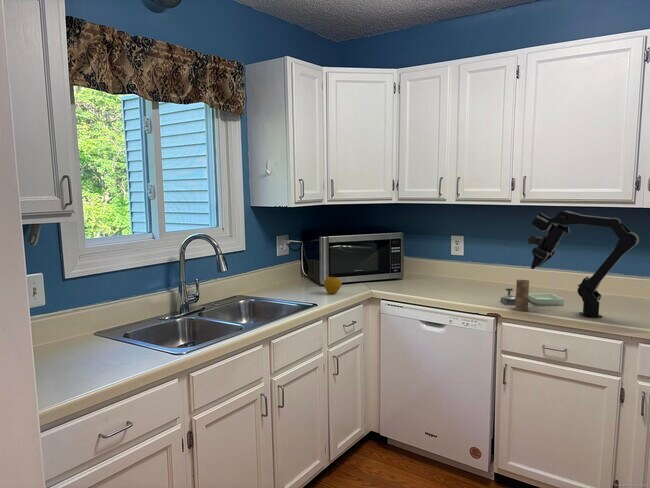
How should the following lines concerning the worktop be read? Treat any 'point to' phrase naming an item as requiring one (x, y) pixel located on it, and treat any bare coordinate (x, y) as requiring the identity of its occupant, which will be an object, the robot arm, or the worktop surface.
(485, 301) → the worktop surface
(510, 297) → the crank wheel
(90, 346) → the worktop surface
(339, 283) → the apple
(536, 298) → the tray
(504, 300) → the crank base
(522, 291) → the block
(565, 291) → the worktop surface
